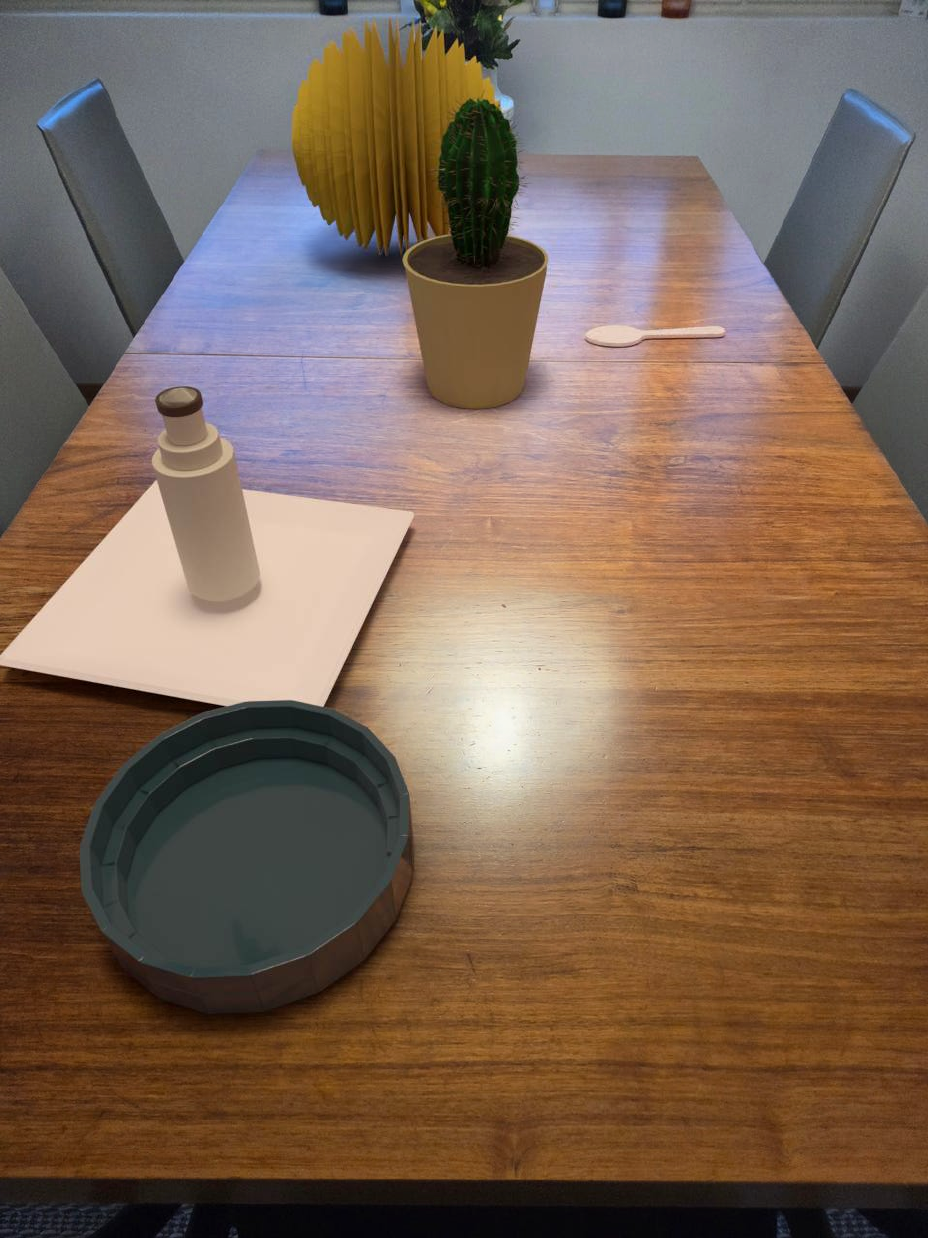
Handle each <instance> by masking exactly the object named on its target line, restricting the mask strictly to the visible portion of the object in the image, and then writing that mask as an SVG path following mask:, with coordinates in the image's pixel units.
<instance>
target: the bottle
mask: <svg viewBox="0 0 928 1238" xmlns="http://www.w3.org/2000/svg"><path fill="white" fill-rule="evenodd" d="M203 399H204V398H203V396H202V392H201V391H200V389H198V388H196V387H194V386H188V385H179V386H174V387H173V386H172V387H168V388H167V389H164V390H162V391H160V392H159V393H158V394H157V395H156V396H155V399H154V400H155V406H156V409H157V412H158V413H159V414H160V415H161V417H162V420H163V424H164V426H165V429H164V430H163V431H162V432H161V433H160V434H159V435H158V437H157V445H158V448H157V450H155V452H154V453H153V455H152V457H151V465H152V468H153V472H154V476H155V479H156V480H157V483H158V486H159V490H160V493H161V496H162V500H163V503H164V507H165V510H166V514H167V517H168V520H169V524H170V527H171V531H172V534H173V538H174V541H175V544H176V548H177V551H178V555H179V558H180V562H181V565H182V568H183V572H184V575H185V579H186V582H187V586H188V589H189V590H190V592H191V593H192V594H193V595H194V596H196V597H198V598H200V599H202V600H206V601H215V602H216V601H227V600H231V599H235V598H238V597H240V596H242V595H244V594H246V593H247V592H249V591H250V590H251V589H252V588H254V586H255V585H256V584H257V582H258V580H259V577H260V570H259V565H258V560H257V556H256V551H255V546H254V542H253V537H252V532H251V528H250V523H249V519H248V514H247V509H246V505H245V500H244V495H243V491H242V489H243V487H242V481H241V478H240V472H239V467H238V462H237V458H236V454H235V449H234V446H233V444H232V443H231V442H230V441H229V440H227V439H226V438H224V437H221V436H220V432H219V429H218V428H217V427H216V426H215V425H213V424H211V423H209V422H206V421H205V416H204V412H203V406H204V400H203Z"/></svg>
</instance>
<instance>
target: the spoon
mask: <svg viewBox="0 0 928 1238" xmlns="http://www.w3.org/2000/svg"><path fill="white" fill-rule="evenodd" d="M725 335H726V329H725V327H723V326H721V325H720V326H719V325H707V326H693V327H692V326H688V327H678V328H666V329H665V328H664V329H663V328H660V329H659V328H657V329H649V330H648V329H646V330H644V329H639V328H637V327H633V326H630V325H624V324H610V325H609V324H608V325H602V326H598V327H593V328H591V329H588V330H587V331H586V332H585V334H584V339H585V340H586V341H587V342H589V343H591V344H593V345H598V346H604V347H616V348H618V347H621V348H622V347H630V346H634V345H637V344H640V343H641V342H642V341H644V340H645V339H687V338H690V339H692V338H697V339H698V338H721V337H724V336H725Z"/></svg>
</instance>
